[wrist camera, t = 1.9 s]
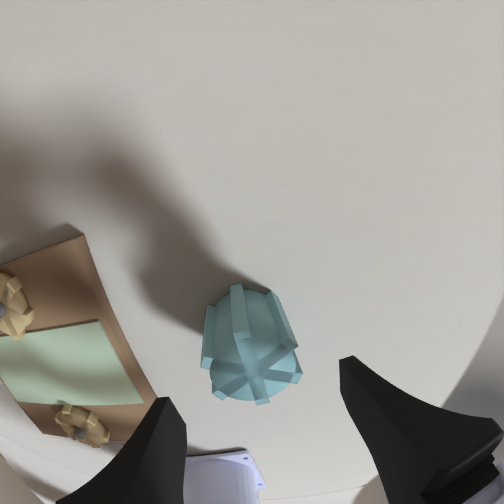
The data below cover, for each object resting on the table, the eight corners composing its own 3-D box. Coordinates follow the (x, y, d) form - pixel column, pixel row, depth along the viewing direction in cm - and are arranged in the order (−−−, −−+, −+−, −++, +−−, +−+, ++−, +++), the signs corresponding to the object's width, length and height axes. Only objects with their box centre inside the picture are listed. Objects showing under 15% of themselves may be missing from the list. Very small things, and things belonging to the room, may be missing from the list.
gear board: (177, 428, 20) (175, 454, 17) (46, 426, 19) (38, 443, 17) (84, 234, 14) (61, 247, 12) (-39, 282, 14) (-57, 294, 11)
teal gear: (286, 340, 18) (305, 393, 13) (219, 356, 18) (220, 412, 13) (273, 275, 16) (293, 318, 12) (197, 292, 16) (189, 342, 11)
